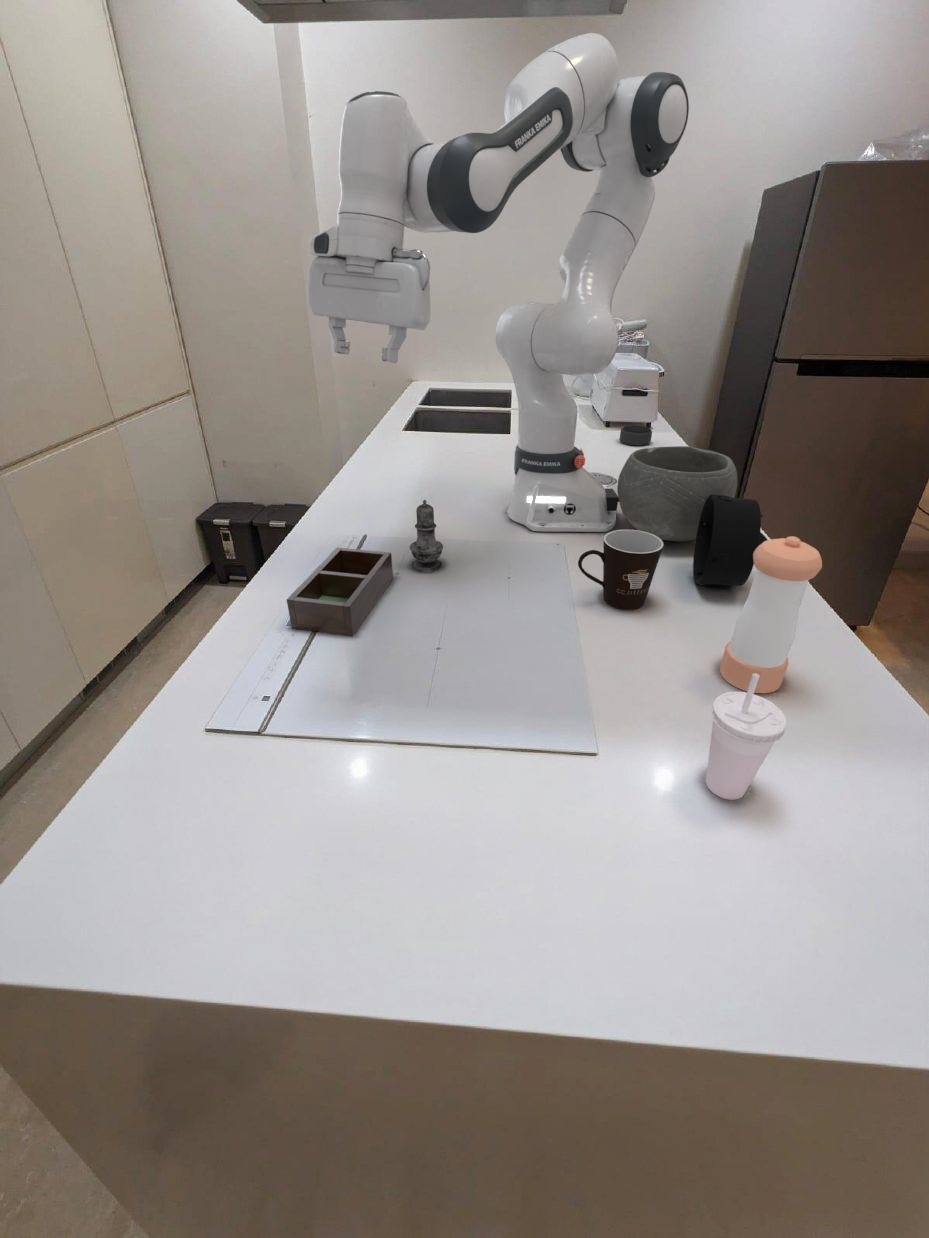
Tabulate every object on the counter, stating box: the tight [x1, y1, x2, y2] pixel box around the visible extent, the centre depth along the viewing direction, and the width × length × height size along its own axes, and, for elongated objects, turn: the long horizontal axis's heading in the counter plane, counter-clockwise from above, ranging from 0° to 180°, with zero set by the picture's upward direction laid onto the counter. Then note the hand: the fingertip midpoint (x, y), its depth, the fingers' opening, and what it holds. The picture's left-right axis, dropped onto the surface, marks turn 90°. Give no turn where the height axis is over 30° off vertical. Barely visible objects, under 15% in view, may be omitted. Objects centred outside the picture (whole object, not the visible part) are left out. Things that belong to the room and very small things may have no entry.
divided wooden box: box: [286, 546, 394, 637], centre depth 89 cm, size 10×18×5 cm, turn 168°
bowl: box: [616, 445, 738, 542], centre depth 109 cm, size 21×21×15 cm
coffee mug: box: [577, 529, 665, 611], centre depth 89 cm, size 12×9×10 cm
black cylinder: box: [692, 494, 768, 589], centre depth 92 cm, size 14×14×10 cm
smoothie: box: [705, 673, 788, 801], centre depth 55 cm, size 6×6×14 cm
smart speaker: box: [619, 425, 653, 447], centre depth 169 cm, size 9×9×4 cm
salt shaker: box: [408, 499, 444, 573], centre depth 98 cm, size 6×6×12 cm
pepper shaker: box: [719, 535, 823, 694], centre depth 69 cm, size 7×7×19 cm
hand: (365, 358), depth 84 cm, fingers open, 8 cm apart
